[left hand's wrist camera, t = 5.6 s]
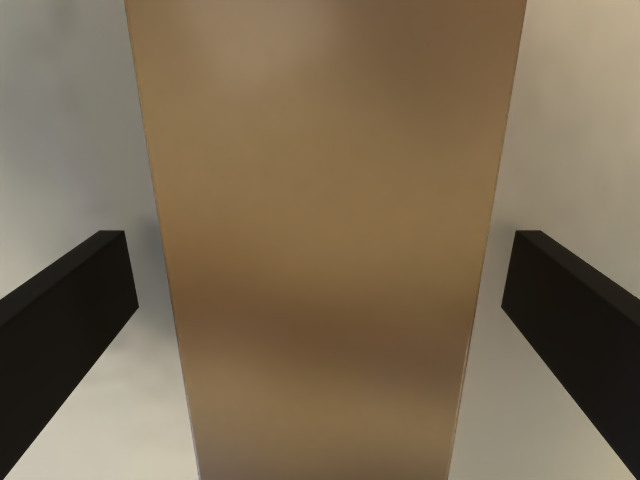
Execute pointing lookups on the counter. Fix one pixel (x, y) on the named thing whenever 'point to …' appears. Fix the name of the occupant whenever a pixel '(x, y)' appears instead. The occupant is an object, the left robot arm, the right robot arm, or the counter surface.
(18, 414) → the left robot arm
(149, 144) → the bar
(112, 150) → the counter surface
